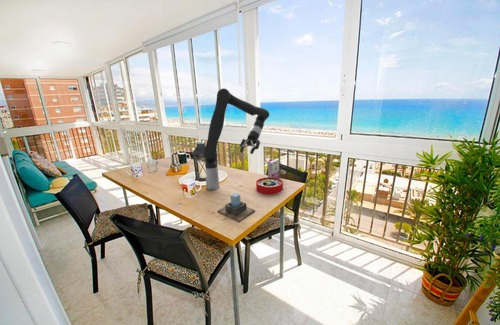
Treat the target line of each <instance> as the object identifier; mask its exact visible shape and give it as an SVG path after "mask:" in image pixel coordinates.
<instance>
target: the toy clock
mask: <svg viewBox="0 0 500 325" xmlns="http://www.w3.org/2000/svg"><path fill="white" fill-rule="evenodd" d="M283 182H284V181H283V180H282V179H280V178H273V177H268V176H267V177H261V178H259V179H257V180H256V182H255V188H256V191H257V193H259V194H261V195H268V196H271V195H277V193H278V194H280V193H281V191H282V192H283V190H284V189H283V188H284V187H283V186H284V183H283Z"/></svg>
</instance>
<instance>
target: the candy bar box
mask: <svg viewBox="0 0 500 325" xmlns="http://www.w3.org/2000/svg"><path fill="white" fill-rule="evenodd" d="M266 164H267V177H273V178H278V179H280V159H277V158H276V159H275V158H274V159H272V160H269V161H267V163H266Z"/></svg>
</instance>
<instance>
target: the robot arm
mask: <svg viewBox="0 0 500 325" xmlns="http://www.w3.org/2000/svg"><path fill="white" fill-rule="evenodd" d="M216 93H217V94H216V101H215V108H214V110H213V112H212V113H213V114H212V116H211V120H210V124H209V128H208V135H207V140H206V141H207V142H206V144H205V146H204V150H203V153H202V154H203V157H204V161H205V162H204V166H205V167H204V168H205V186H206V189H207V190H210V191H211V190H212V191H215V190H218V189H219V188H220V180H219V179H220V178H219V168H218V151H217V146H218V142H219V139H220V137H221V134H222V131H223V127H224V124H225V117H226V111H227V107H228V105H230V106H232V107H234V108H237V109H238V110H240V111H242V112H244V113H245V114H247V115H250V116H255V115H256V118H255V121H254V123H253V125H252V127H251V128H250V131H249V132H248V135H247V137H246V139H245V138H243V139H242V140H241V142H240V144H239V147H240V148H239V152H240V153H241V154H242V153H243V151H244V150H245V148H247V147H251V149H250V152H249V153H250V154H251V155H253V154H254V152H255V150H258V149H259V148H260V145H261V141H260V136H261V134H262V131H263V128H264V126H265V122H266V121H267V119H268V118H269V117H270V112H269V110H267V109H266V108H263V107H259V106H255V105H253V104H251V103H250V102H248V101H245V100H242V99H241V98H238V97H236V96H235V95H233V93H231V92H230V91H229V90H228V89H227V88H225V87H224V88H220V89H219V90H218V91H217V92H216Z"/></svg>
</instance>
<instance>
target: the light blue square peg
mask: <svg viewBox="0 0 500 325" xmlns="http://www.w3.org/2000/svg"><path fill="white" fill-rule="evenodd" d="M240 201H241V193H240V194H239V193H236V192H235V193H232V194H231V195H230V202H231V206H232V207H235V208H237V207H239V206H240V205H241V202H242V201H241V202H240Z"/></svg>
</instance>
